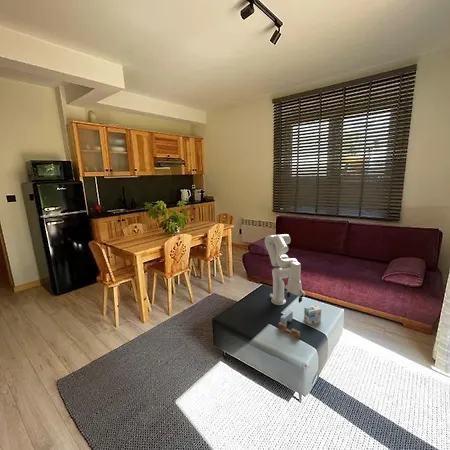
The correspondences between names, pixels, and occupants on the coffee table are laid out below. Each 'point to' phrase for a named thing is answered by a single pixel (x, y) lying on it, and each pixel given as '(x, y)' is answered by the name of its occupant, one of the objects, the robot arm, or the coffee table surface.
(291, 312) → the bar
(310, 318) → the light bulb box
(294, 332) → the rail
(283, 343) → the coffee table surface
